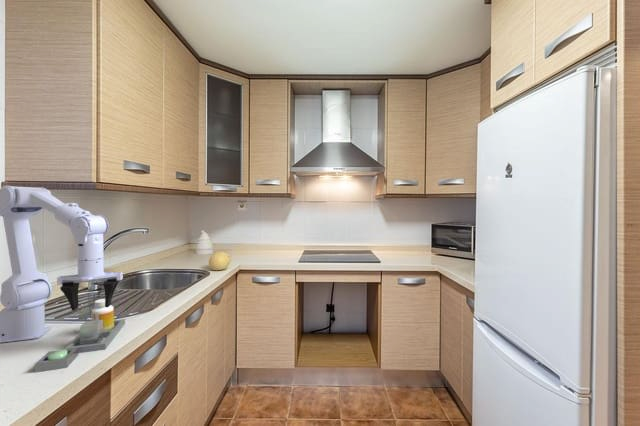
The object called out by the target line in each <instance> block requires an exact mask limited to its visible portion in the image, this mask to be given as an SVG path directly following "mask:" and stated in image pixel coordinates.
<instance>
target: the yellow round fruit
mask: <svg viewBox="0 0 640 426" xmlns="http://www.w3.org/2000/svg"><path fill="white" fill-rule="evenodd" d="M231 261H232V256H231V254H228V253H226V252H225V251H217V252H213V253H212V255H211V256H210V257H209V260H208V266H209V268H210V270H213V271H221V270H222V271H223V270H227V269H228V267H229V265H230V264H231Z"/></svg>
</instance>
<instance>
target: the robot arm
mask: <svg viewBox="0 0 640 426" xmlns="http://www.w3.org/2000/svg"><path fill="white" fill-rule="evenodd" d="M42 210H46V211H48V212H51V213H53V214H54V218H55V220H57V221H58V222H59V223H62V224H63V225H64V226H66V227H68V228H70V230H71V231H70V232H71V233H72V235H73V237H74V242H75V244H77V245H76V246H77V252H76V253H77V274H72V275H71V274H70V275H60V276H58V277H57V278H56V285H57V286H59V285H61V286H60V288H59V289H60V291H61V292H62V293H63V294H64V296H65V298H66V299H67V301H68V303H69V306H70V308H71V311H76V310H77V309H78V308H79V290H80V289H79V288H80V284H81V283H95V282H96V283H97V282H104V283H103V288H104V289H103V290H104V299H105V307H109V306H110V305H111V306H112V300H113V297H114V293H115V290H116V288H117V286H118V284H119V283H120V281H122V280H123V279H124V276H123V274H124V273H123V271H121V272H118V271H117V272H108V271H107V272H106V271H105V269H104V268H105V263H104V262H105V260H104V259H105V258H104V256H105V255H104V252H105V251H104V235H105V234H107V232H108V230H109V227H110V225H109V222H108V219H107V218H106V217H105V216H104V215H103V214H96V215H94V214H92V213H91V211H89V210H85V209H82V208H81V207H79V204H78V203H75V202H69V203H65V202H62V201H61V200H59V198H57V197H55V196H54V195H52V192H51V191H50V190H49V189H47V188H45V187H41V186H40V187H39V186H38V187H36V186H35V187H34V186H33V187H32V186H31V187H30V186H17V185H15V186H11V185H9V184H8V185H6V184H5V185H3V186H1V187H0V217H2V218H3V225H4V232H5V237H6V245H7V249H8V256H9V262H10V267H11V273H12V275H10V276H9V277H8V278H6V279H5V280H4V281H3V282H2V283H1V288H0V289H1V293H0V303H1V305H2V306H3V307H4V308H2V309H1V310H0V344H1V343H2V344H3V343H9V342H17V341H19V342H20V341H27V340H36V339H39V338H41V337H42V336H43V335H44V334H46V333H47V332H48V331H50V330H51V329H52V326H46V319H45V317H46V316H45V314H46V313H45V303H48V299H50V298H51V296H52V294H53V286H52V284H51V282H50V280H49V278H48V277H49V276H48V275H47V274H45V273H44V272H41V271H39V270H38V267H37V262H36V255H35V249H34V244H33V237H32V232H31V227H30V219H31V218H32V217H34V216H36V215H37V214H39V213H40V212H41V211H42Z"/></svg>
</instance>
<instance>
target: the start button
mask: <svg viewBox="0 0 640 426" xmlns="http://www.w3.org/2000/svg"><path fill="white" fill-rule="evenodd" d="M53 351H54V352H51V353H50V354H48V360H54V359H61V358H65V357H66V356H67V350H65V348H64V349H57V350H53Z"/></svg>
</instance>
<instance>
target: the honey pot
mask: <svg viewBox="0 0 640 426" xmlns="http://www.w3.org/2000/svg"><path fill="white" fill-rule="evenodd" d="M200 232H201V235H200V236H199V238H197V240H198V241H197V244H196V246H195V254H196V255H209V254H214V246H213V243H212V240H211V237H210V236H209V234H208V233H207V232H205V230H200Z"/></svg>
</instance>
